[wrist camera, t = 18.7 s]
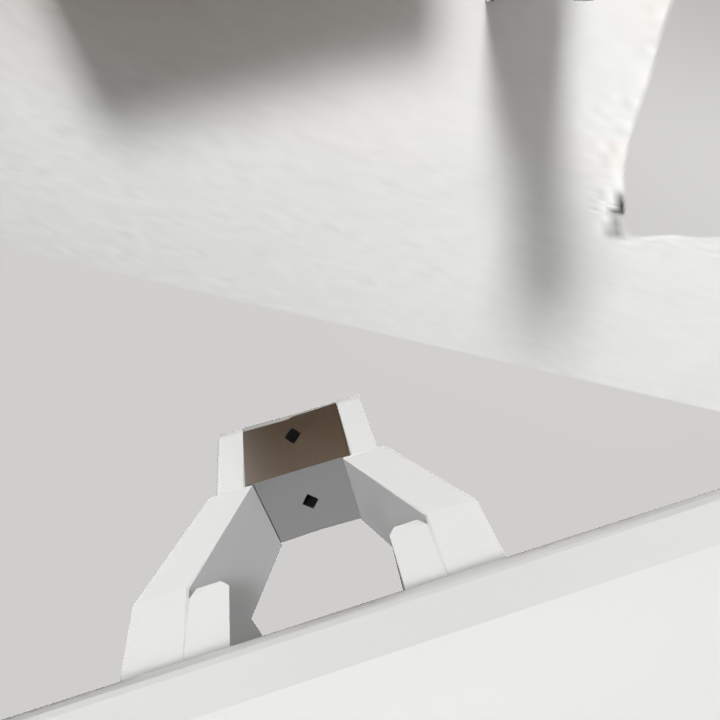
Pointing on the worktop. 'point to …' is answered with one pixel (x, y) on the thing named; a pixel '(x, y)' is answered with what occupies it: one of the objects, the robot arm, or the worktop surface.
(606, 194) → the worktop surface
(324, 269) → the worktop surface
